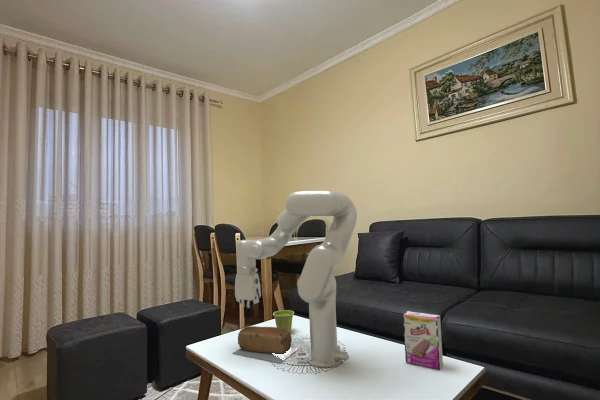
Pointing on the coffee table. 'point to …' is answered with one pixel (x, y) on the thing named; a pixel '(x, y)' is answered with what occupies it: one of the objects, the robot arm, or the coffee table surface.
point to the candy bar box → (423, 340)
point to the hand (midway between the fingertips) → (248, 317)
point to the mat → (259, 355)
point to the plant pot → (284, 319)
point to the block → (265, 339)
